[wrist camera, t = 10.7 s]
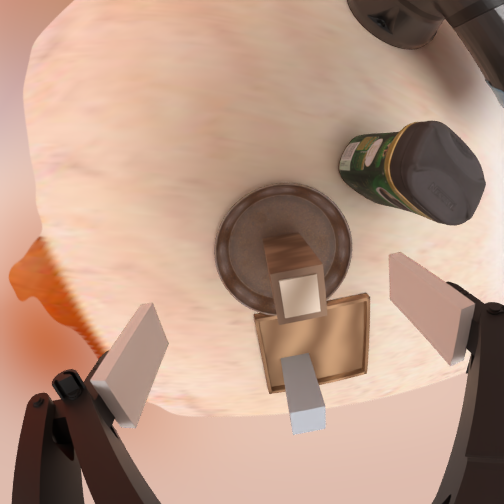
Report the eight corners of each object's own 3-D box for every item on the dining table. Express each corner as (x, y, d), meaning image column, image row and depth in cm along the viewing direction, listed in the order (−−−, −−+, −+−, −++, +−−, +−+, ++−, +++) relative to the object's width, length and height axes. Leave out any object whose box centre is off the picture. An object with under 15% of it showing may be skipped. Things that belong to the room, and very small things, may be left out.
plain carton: (308, 352, 43) (325, 406, 32) (310, 375, 45) (325, 428, 33) (280, 358, 43) (289, 413, 32) (283, 380, 45) (293, 434, 33)
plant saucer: (291, 327, 43) (294, 338, 40) (191, 261, 39) (187, 268, 36) (368, 235, 39) (377, 240, 36) (270, 154, 36) (272, 153, 33)
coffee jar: (407, 164, 36) (501, 172, 18) (383, 211, 37) (470, 246, 20) (355, 125, 34) (436, 100, 16) (328, 174, 36) (398, 183, 18)
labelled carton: (298, 232, 35) (323, 264, 24) (303, 270, 37) (328, 316, 25) (262, 238, 35) (270, 275, 24) (269, 276, 37) (279, 326, 25)
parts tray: (366, 292, 41) (370, 297, 39) (364, 368, 45) (366, 373, 44) (254, 314, 41) (254, 319, 40) (268, 388, 45) (269, 393, 44)
